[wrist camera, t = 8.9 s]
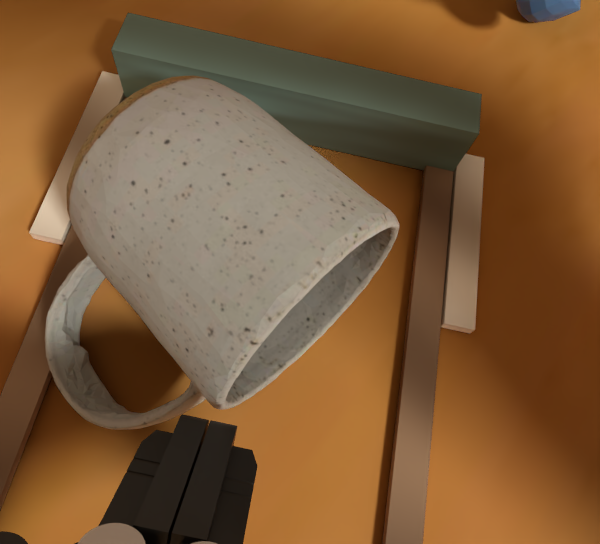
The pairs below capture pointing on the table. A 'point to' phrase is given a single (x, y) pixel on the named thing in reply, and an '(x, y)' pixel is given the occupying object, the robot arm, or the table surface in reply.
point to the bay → (322, 133)
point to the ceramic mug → (209, 244)
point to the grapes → (546, 9)
